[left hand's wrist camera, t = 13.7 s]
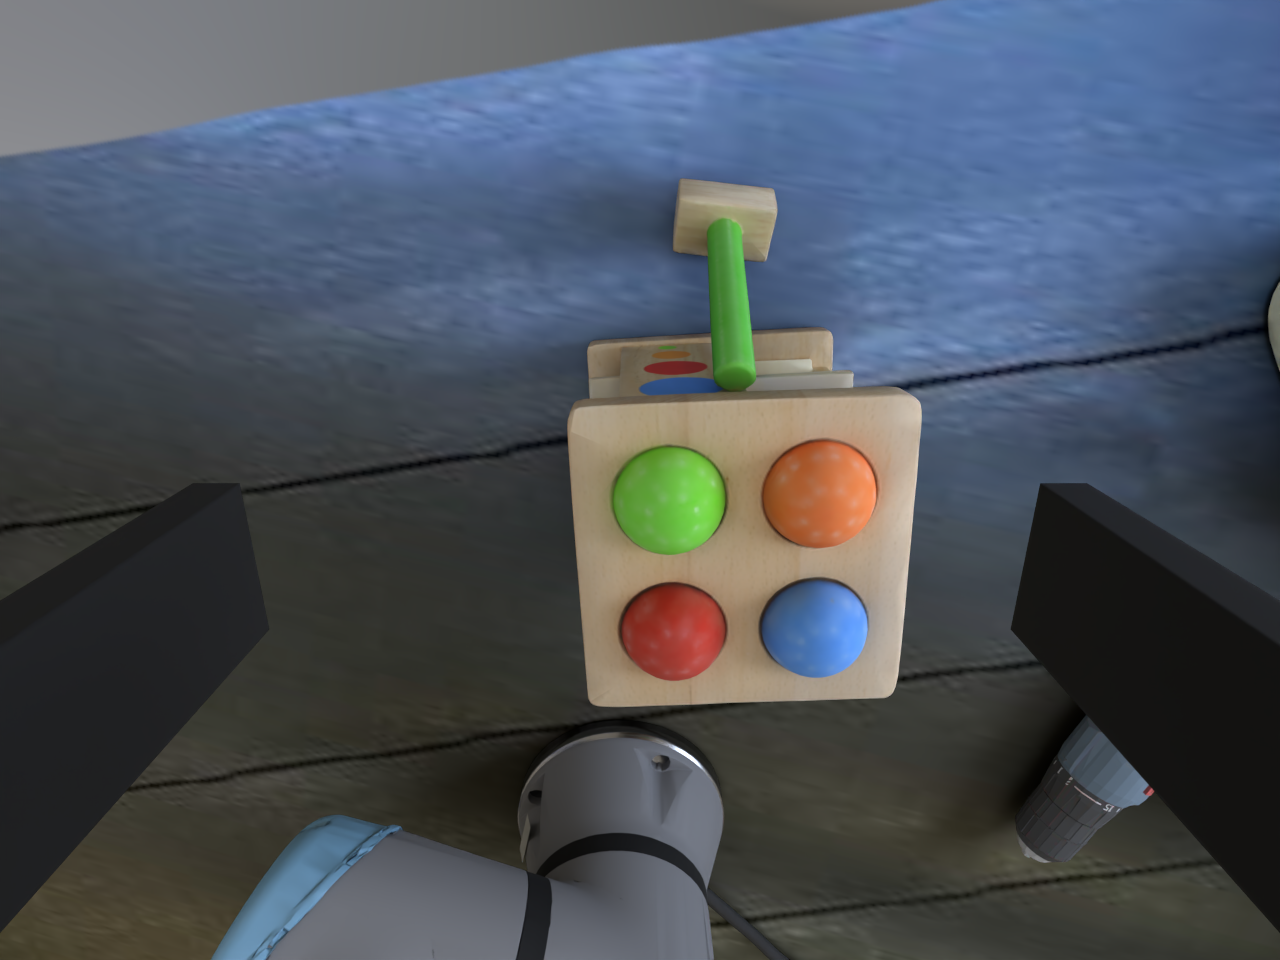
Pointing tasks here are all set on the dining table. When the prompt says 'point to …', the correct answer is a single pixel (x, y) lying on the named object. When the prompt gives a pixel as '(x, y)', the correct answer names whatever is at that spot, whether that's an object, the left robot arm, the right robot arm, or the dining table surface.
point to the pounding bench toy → (738, 498)
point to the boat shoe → (1275, 324)
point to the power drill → (1077, 796)
